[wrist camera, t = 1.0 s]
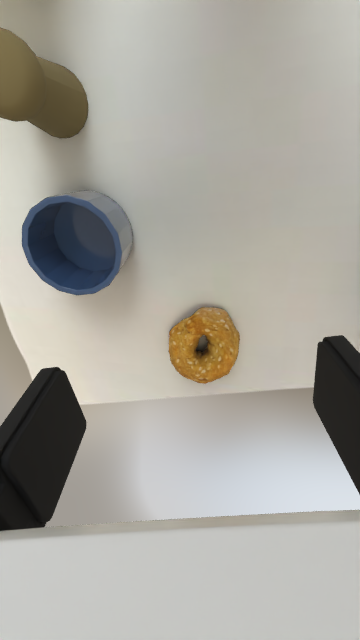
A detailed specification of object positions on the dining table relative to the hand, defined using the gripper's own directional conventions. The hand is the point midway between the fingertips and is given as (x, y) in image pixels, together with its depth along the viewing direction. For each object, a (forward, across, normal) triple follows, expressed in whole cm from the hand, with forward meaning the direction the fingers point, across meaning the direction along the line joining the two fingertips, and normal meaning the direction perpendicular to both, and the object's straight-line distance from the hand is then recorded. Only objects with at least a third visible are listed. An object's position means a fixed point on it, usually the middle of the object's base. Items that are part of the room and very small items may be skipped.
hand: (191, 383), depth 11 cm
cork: (+27, +11, -14) cm, 33 cm away
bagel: (+27, 0, +15) cm, 31 cm away
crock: (+27, +12, -1) cm, 29 cm away
